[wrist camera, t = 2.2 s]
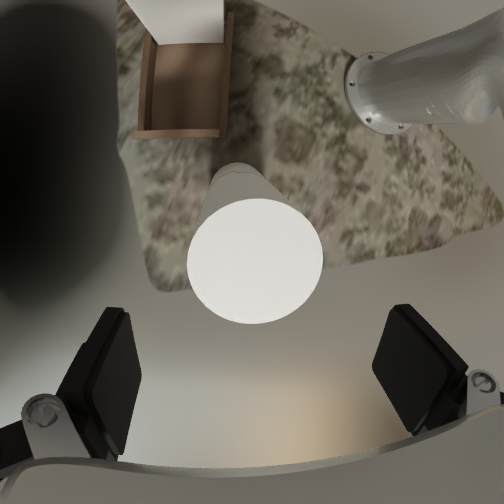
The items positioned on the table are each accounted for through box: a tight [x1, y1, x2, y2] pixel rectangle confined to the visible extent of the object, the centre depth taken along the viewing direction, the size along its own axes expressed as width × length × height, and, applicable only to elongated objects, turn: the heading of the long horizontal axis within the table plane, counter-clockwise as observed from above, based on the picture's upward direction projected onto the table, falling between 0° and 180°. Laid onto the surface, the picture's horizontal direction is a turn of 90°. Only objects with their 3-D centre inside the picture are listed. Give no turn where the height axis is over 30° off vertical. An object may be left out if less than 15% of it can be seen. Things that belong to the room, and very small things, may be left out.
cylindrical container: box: [187, 162, 323, 324], centre depth 27 cm, size 7×7×25 cm
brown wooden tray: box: [132, 12, 235, 139], centre depth 28 cm, size 11×17×9 cm, turn 177°
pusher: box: [125, 0, 224, 45], centre depth 22 cm, size 8×1×16 cm, turn 87°
